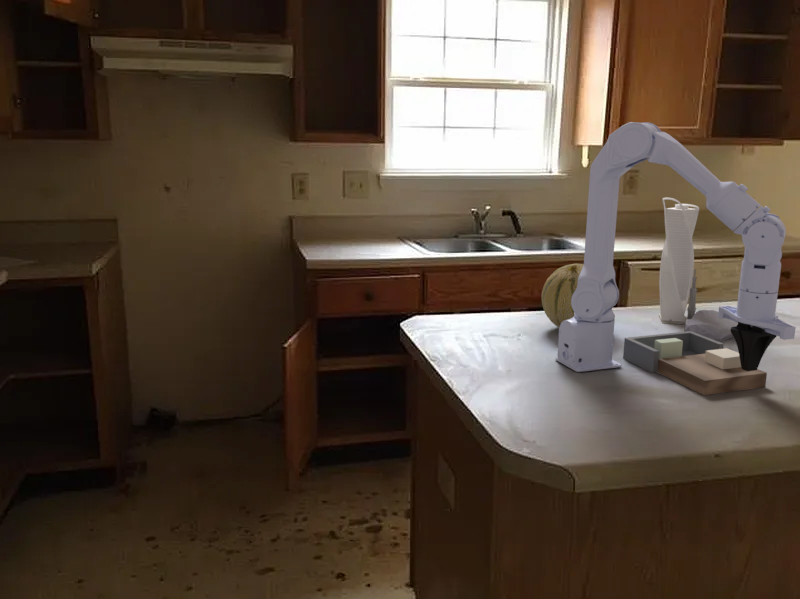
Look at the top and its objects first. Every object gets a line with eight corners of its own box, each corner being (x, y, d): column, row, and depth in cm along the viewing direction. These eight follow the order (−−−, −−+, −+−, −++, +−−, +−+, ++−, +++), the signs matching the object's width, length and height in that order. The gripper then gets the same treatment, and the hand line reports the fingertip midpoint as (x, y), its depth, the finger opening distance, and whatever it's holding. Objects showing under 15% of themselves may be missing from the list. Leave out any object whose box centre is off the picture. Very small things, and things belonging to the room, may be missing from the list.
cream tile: (722, 369, 123) (723, 358, 123) (704, 361, 127) (705, 350, 127) (744, 366, 124) (745, 355, 124) (725, 359, 128) (726, 348, 128)
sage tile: (661, 343, 130) (654, 340, 131) (659, 366, 131) (652, 363, 132) (682, 340, 131) (675, 337, 133) (680, 364, 132) (673, 361, 134)
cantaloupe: (606, 323, 162) (610, 257, 159) (613, 341, 148) (618, 269, 145) (539, 320, 165) (542, 255, 161) (540, 338, 151) (543, 267, 147)
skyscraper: (655, 324, 162) (665, 198, 156) (651, 315, 170) (660, 195, 163) (695, 326, 160) (707, 199, 154) (689, 317, 168) (700, 196, 161)
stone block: (741, 339, 156) (695, 323, 161) (748, 319, 154) (701, 303, 159) (728, 354, 147) (679, 337, 152) (735, 333, 145) (685, 316, 150)
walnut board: (703, 395, 118) (705, 380, 118) (657, 372, 129) (658, 359, 129) (765, 386, 122) (766, 372, 121) (715, 365, 133) (716, 352, 132)
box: (652, 372, 129) (654, 351, 128) (623, 358, 137) (624, 337, 136) (721, 364, 133) (723, 343, 132) (689, 350, 142) (690, 331, 141)
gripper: (814, 297, 111) (803, 381, 115) (745, 279, 125) (736, 354, 128) (778, 301, 109) (768, 385, 113) (711, 282, 123) (703, 358, 126)
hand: (749, 369), depth 120 cm, fingers closed
